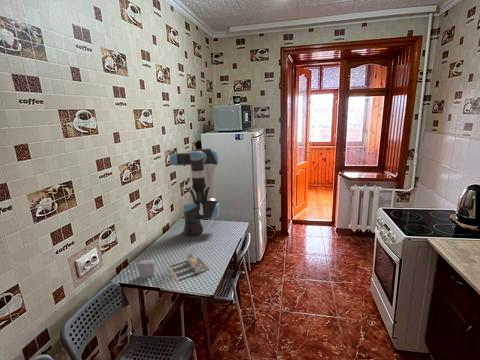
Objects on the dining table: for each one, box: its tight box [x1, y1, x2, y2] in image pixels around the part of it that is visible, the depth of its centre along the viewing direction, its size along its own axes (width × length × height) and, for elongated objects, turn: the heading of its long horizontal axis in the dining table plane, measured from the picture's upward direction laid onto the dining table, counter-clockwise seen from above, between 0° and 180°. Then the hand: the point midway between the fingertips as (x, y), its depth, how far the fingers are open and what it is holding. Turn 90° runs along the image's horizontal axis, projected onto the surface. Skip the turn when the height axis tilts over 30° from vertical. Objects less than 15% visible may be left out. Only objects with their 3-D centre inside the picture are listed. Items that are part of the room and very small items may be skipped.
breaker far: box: [186, 253, 195, 264], centre depth 153 cm, size 3×3×4 cm
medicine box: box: [137, 259, 157, 279], centre depth 143 cm, size 8×4×9 cm, turn 92°
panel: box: [168, 257, 211, 282], centre depth 148 cm, size 16×22×2 cm
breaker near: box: [194, 262, 203, 274], centre depth 143 cm, size 3×3×4 cm
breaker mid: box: [190, 258, 198, 269], centre depth 148 cm, size 3×3×4 cm
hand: (201, 214), depth 160 cm, fingers closed
